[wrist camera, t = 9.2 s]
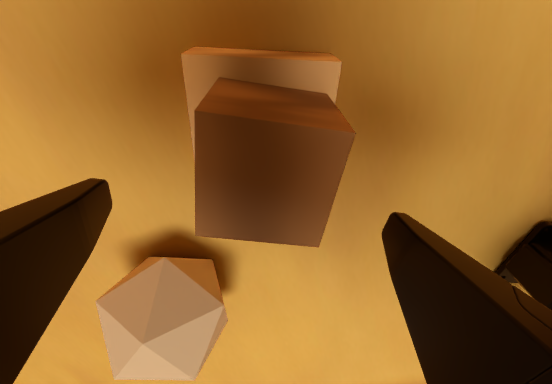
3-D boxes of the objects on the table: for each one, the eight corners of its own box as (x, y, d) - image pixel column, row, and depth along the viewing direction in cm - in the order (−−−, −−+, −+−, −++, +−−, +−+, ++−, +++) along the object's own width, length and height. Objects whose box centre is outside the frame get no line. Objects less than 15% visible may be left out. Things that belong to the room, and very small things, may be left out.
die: (137, 291, 26) (173, 402, 21) (55, 277, 18) (85, 445, 14) (212, 242, 27) (262, 340, 22) (165, 209, 19) (226, 347, 15)
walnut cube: (326, 93, 13) (355, 133, 9) (304, 184, 16) (318, 247, 11) (218, 76, 12) (194, 110, 8) (215, 173, 15) (195, 235, 11)
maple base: (329, 52, 15) (342, 61, 12) (313, 168, 19) (320, 193, 16) (195, 45, 14) (180, 53, 12) (207, 164, 18) (198, 190, 16)
